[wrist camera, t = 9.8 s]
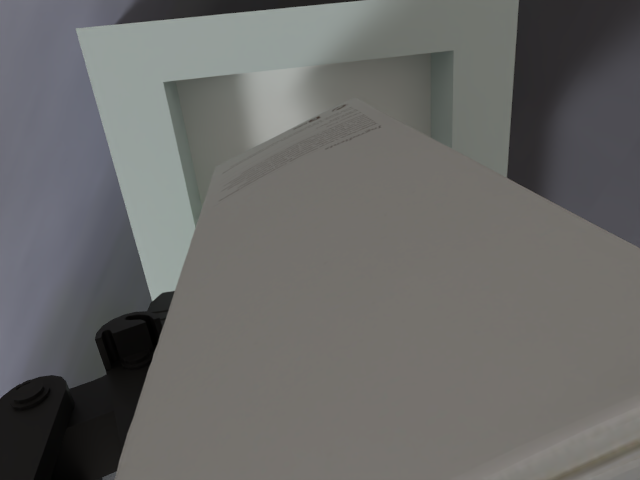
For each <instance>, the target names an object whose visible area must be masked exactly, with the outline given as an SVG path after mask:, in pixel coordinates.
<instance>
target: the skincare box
mask: <svg viewBox="0 0 640 480" xmlns="http://www.w3.org/2000/svg"><path fill="white" fill-rule="evenodd" d="M114 480H640V248H638V247H636V246H634V245H632V244H630V243H629V242H627V241H625V240H623V239H621V238H619V237H617V236H615V235H613V234H611V233H609V232H608V231H606V230H604V229H602V228H600V227H598V226H596V225H594V224H592V223H590V222H588V221H586V220H585V219H583V218H581V217H579V216H577V215H575V214H573V213H571V212H570V211H568V210H566V209H564V208H562V207H560V206H558V205H557V204H555V203H553V202H551V201H549V200H547V199H545V198H543V197H542V196H540V195H538V194H536V193H534V192H532V191H530V190H529V189H527V188H525V187H523V186H521V185H519V184H517V183H515V182H514V181H512V180H510V179H508V178H506V177H504V176H502V175H501V174H499V173H497V172H495V171H493V170H491V169H489V168H487V167H486V166H484V165H482V164H480V163H478V162H476V161H474V160H473V159H471V158H469V157H467V156H465V155H463V154H461V153H459V152H457V151H455V150H453V149H451V148H450V147H448V146H446V145H444V144H442V143H440V142H438V141H436V140H434V139H433V138H431V137H429V136H427V135H425V134H423V133H421V132H419V131H418V130H416V129H414V128H412V127H410V126H408V125H406V124H404V123H403V122H401V121H399V120H397V119H395V118H393V117H391V116H389V115H388V114H386V113H384V112H382V111H380V110H378V109H376V108H374V107H373V106H371V105H369V104H368V103H366V102H364V101H362V100H360V99H359V98H353V99H351V100H348V101H346V102H344V103H342V104H340V105H338V106H336V107H334V108H332V109H330V110H327V111H325V112H323V113H321V114H319V115H317V116H315V117H313V118H311V119H309V120H307V121H305V122H303V123H301V124H299V125H297V126H295V127H293V128H291V129H289V130H287V131H285V132H284V133H282V134H280V135H278V136H276V137H274V138H272V139H270V140H268V141H266V142H264V143H262V144H260V145H258V146H256V147H254V148H252V149H250V150H248V151H246V152H244V153H242V154H240V155H238V156H236V157H234V158H232V159H230V160H228V161H227V162H225V163H223V164H221V165H219V166H217V167H216V168H215V170H214V173H213V176H212V180H211V182H210V185H209V188H208V192H207V194H206V198H205V201H204V203H203V207H202V210H201V213H200V216H199V219H198V222H197V225H196V228H195V231H194V234H193V237H192V239H191V243H190V247H189V250H188V253H187V256H186V259H185V262H184V265H183V268H182V271H181V274H180V277H179V280H178V283H177V286H176V289H175V292H174V295H173V298H172V301H171V304H170V307H169V311H168V314H167V317H166V320H165V323H164V326H163V328H162V331H161V334H160V337H159V341H158V344H157V347H156V349H155V352H154V354H153V359H152V362H151V364H150V367H149V370H148V372H147V376H146V379H145V383H144V386H143V389H142V392H141V395H140V398H139V401H138V404H137V408H136V411H135V414H134V417H133V420H132V423H131V425H130V428H129V431H128V433H127V437H126V440H125V444H124V447H123V451H122V454H121V457H120V460H119V464H118V469H117V473H116V477H115V479H114Z"/></svg>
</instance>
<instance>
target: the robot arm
mask: <svg viewBox="0 0 640 480" xmlns="http://www.w3.org/2000/svg"><path fill="white" fill-rule="evenodd" d="M174 292H175V291H170V292H163V293H161V294H160V295H159V296H158V297H157V298H156V299H155V300H153V301H152V302H151V304H150V306H149V308H148V311H145V312H134V313H129V314H125V315H122V316H120V317H118V318H115V319H113V320H111V321H110V322H108V323H107V324H105V325H103V326H102V327H101V328H100V330H99V331H98V332H97V333H96V337H95V341H96V344H97V347H98V349H99V352H100V355H101V358H102V361H103V364H104V366H105V369H106V373H107V375H105V376H103V377H101V378H98V379H96V380H94V381H91V382H88V383H85V384H82V385H80V386H77V387H74V388H71V389H69V388H68V385H67V383H66V381H65V380H64V379H63V378H62V377H59V376H53V375H50V376H43V377H38V378H35V379H32V380H28V381H26V382H23V383H22V384H19V385H18V386H16V387H14V388H13V389H12V390H10V391H9V392H8V393H6V394H5V395H4V396H2V397H1V399H0V480H102V477H104V476H106V475H109V474H111V473H113V472H116V471H117V469H118V464H119V460H120V457H121V454H122V451H123V447H124V444H125V440H126V437H127V433H128V431H129V428H130V425H131V423H132V420H133V417H134V414H135V411H136V408H137V404H138V401H139V398H140V395H141V392H142V389H143V386H144V383H145V379H146V376H147V372H148V370H149V367H150V364H151V362H152V359H153V354H154V352H155V349H156V347H157V344H158V341H159V337H160V334H161V331H162V328H163V326H164V323H165V320H166V317H167V314H168V311H169V307H170V304H171V301H172V298H173V295H174Z"/></svg>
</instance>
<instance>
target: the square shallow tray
mask: <svg viewBox="0 0 640 480" xmlns="http://www.w3.org/2000/svg"><path fill="white" fill-rule="evenodd" d="M518 6H519V0H363V1H353V2H342V3H332V4H322V5H312V6H302V7H291V8H281V9H271V10H261V11H251V12H240V13H230V14H220V15H210V16H200V17H189V18H179V19H169V20H159V21H148V22H138V23H128V24H118V25H108V26H97V27H87V28H77V29H76V31H77V35H78V39H79V42H80V46H81V49H82V53H83V56H84V60H85V63H86V67H87V71H88V74H89V78H90V81H91V85H92V88H93V92H94V96H95V99H96V103H97V106H98V110H99V113H100V117H101V120H102V124H103V128H104V131H105V135H106V138H107V142H108V145H109V149H110V152H111V156H112V160H113V163H114V167H115V170H116V174H117V177H118V181H119V184H120V188H121V192H122V195H123V199H124V202H125V206H126V209H127V213H128V216H129V220H130V224H131V227H132V231H133V234H134V238H135V241H136V245H137V248H138V252H139V256H140V259H141V263H142V266H143V270H144V273H145V277H146V280H147V284H148V288H149V291H150V295H151V298H152V301H153V300H155V299H156V298H157V297H158V296H159V295H160V294H161V293H163V292H170V291H175V289H176V286H177V283H178V280H179V277H180V274H181V271H182V268H183V265H184V262H185V259H186V256H187V253H188V250H189V247H190V243H191V239H192V237H193V234H194V231H195V228H196V225H197V222H198V219H199V216H200V213H201V210H202V207H203V203H204V201H205V198H206V194H207V192H208V188H209V185H210V182H211V180H212V176H213V173H214V170H215V168H216V167H217V166H219V165H221V164H223V163H225V162H227V161H228V160H230V159H232V158H234V157H236V156H238V155H240V154H242V153H244V152H246V151H248V150H250V149H252V148H254V147H256V146H258V145H260V144H262V143H264V142H266V141H268V140H270V139H272V138H274V137H276V136H278V135H280V134H282V133H284V132H285V131H287V130H289V129H291V128H293V127H295V126H297V125H299V124H301V123H303V122H305V121H307V120H309V119H311V118H313V117H315V116H317V115H319V114H321V113H323V112H325V111H327V110H330V109H332V108H334V107H336V106H338V105H340V104H342V103H344V102H346V101H348V100H351V99H353V98H359V99H360V100H362V101H364V102H366V103H368V104H369V105H371V106H373V107H374V108H376V109H378V110H380V111H382V112H384V113H386V114H388V115H389V116H391V117H393V118H395V119H397V120H399V121H401V122H403V123H404V124H406V125H408V126H410V127H412V128H414V129H416V130H418V131H419V132H421V133H423V134H425V135H427V136H429V137H431V138H433V139H434V140H436V141H438V142H440V143H442V144H444V145H446V146H448V147H450V148H451V149H453V150H455V151H457V152H459V153H461V154H463V155H465V156H467V157H469V158H471V159H473V160H474V161H476V162H478V163H480V164H482V165H484V166H486V167H487V168H489V169H491V170H493V171H495V172H497V173H499V174H501V175H502V176H504V177H506V178H507V168H508V153H509V139H510V124H511V109H512V94H513V80H514V65H515V50H516V35H517V21H518Z"/></svg>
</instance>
